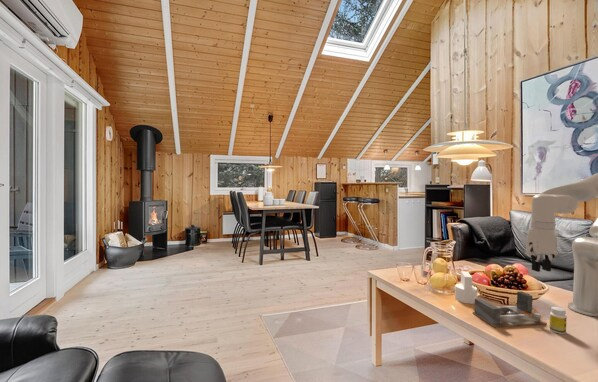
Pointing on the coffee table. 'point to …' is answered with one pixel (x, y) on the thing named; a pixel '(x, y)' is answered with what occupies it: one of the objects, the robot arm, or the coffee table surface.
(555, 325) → the supplement bottle
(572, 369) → the coffee table surface
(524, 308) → the l-shaped angle bracket
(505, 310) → the gauge base
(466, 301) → the cylinder with rectangular tab
